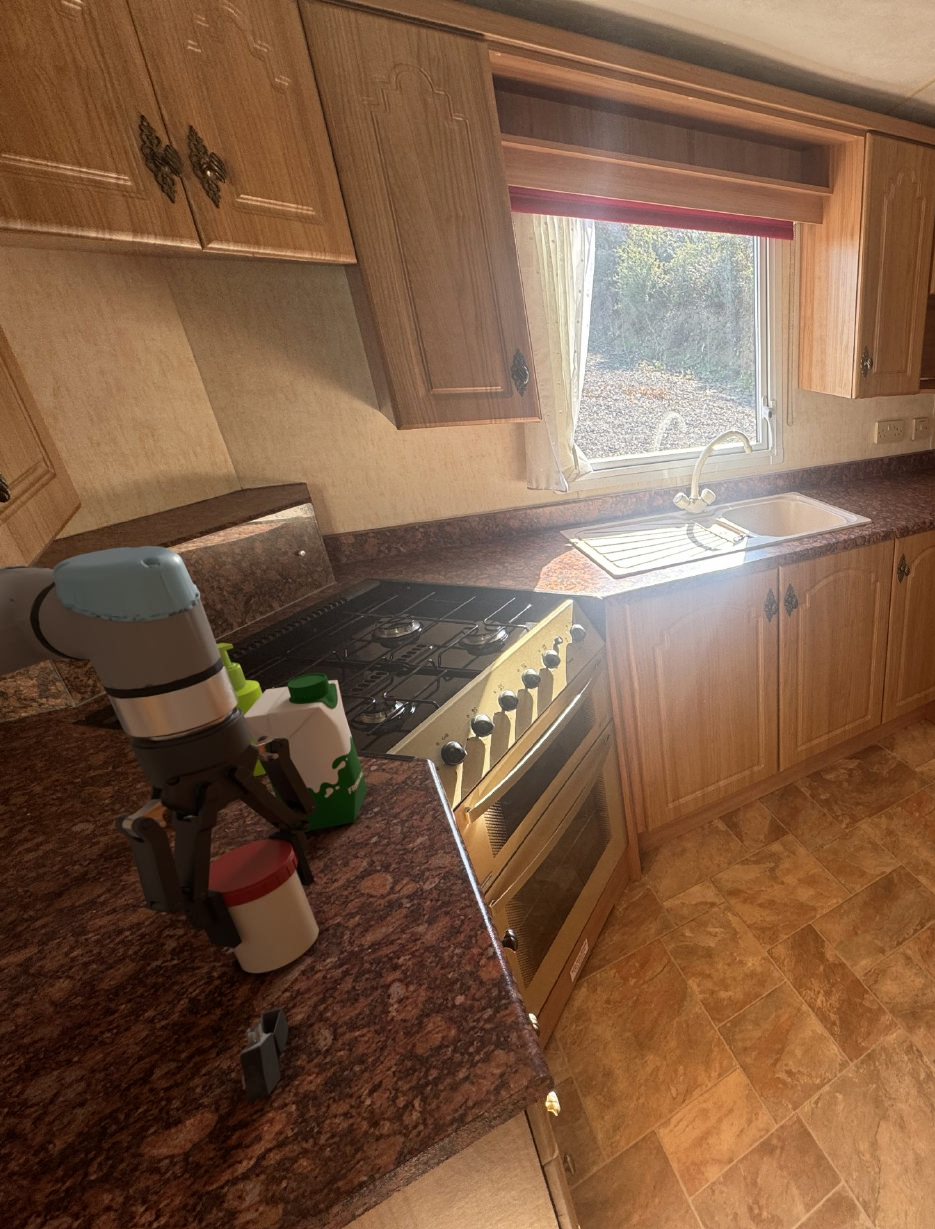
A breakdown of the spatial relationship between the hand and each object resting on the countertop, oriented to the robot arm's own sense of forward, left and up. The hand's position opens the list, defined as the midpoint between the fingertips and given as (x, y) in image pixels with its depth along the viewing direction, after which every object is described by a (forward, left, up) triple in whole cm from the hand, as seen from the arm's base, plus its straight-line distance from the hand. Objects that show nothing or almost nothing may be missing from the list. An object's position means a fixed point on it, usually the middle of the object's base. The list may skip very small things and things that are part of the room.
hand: (265, 910), depth 66 cm
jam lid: (0, 0, +6) cm, 6 cm away
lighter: (+15, -4, -5) cm, 16 cm away
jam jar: (0, 0, -5) cm, 5 cm away
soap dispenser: (-41, +6, -5) cm, 42 cm away
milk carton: (-21, +10, -5) cm, 24 cm away
